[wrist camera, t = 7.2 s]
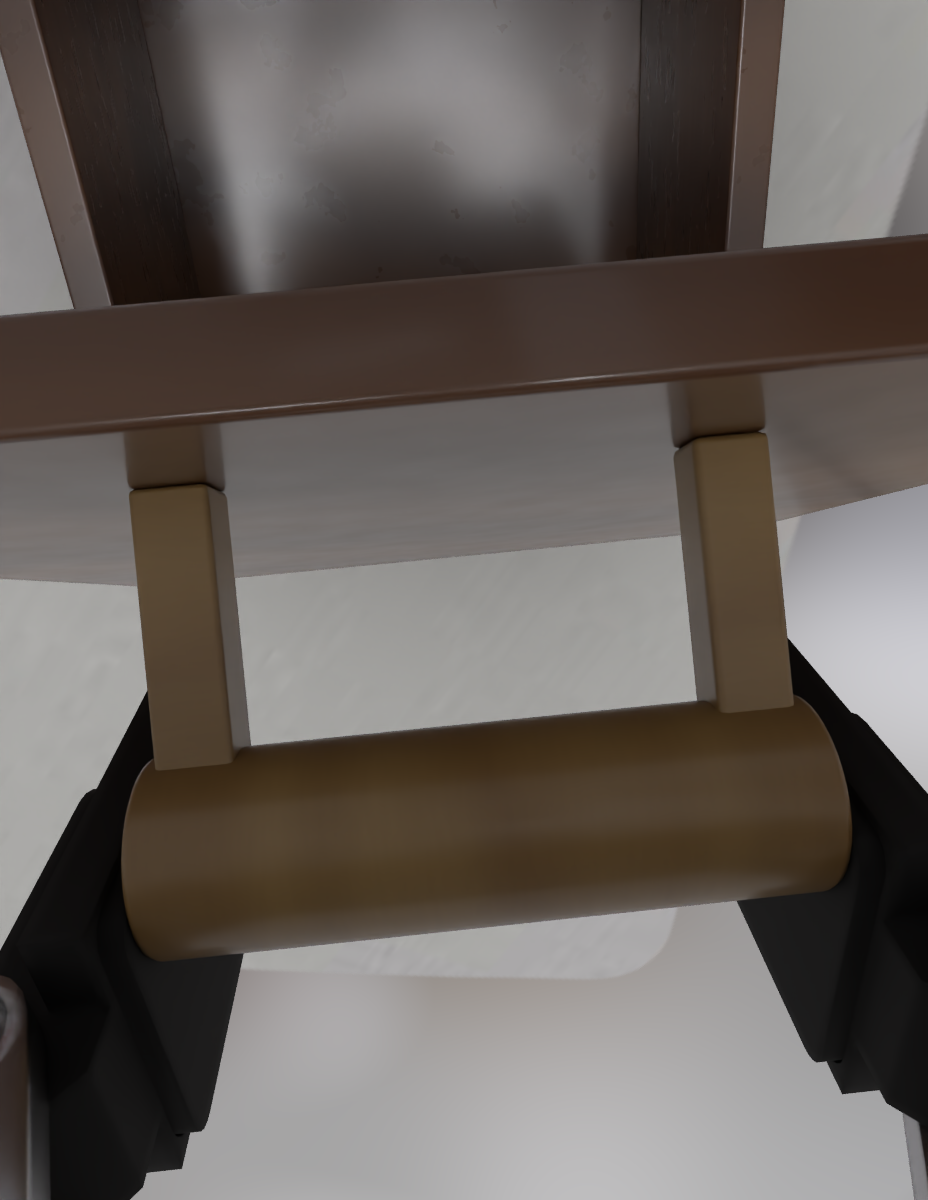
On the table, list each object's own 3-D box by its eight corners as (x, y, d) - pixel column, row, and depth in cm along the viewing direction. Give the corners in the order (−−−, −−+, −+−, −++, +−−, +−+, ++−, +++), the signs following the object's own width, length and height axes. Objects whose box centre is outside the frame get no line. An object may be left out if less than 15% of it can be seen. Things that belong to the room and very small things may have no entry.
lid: (-975, 394, 5) (-896, 1227, 5) (1752, 155, 5) (1829, 926, 5) (140, 558, 22) (157, 738, 22) (745, 500, 22) (763, 676, 22)
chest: (94, -80, 23) (-84, -234, 15) (668, -125, 24) (813, -299, 15) (217, 463, 31) (146, 566, 22) (650, 423, 31) (741, 509, 23)
